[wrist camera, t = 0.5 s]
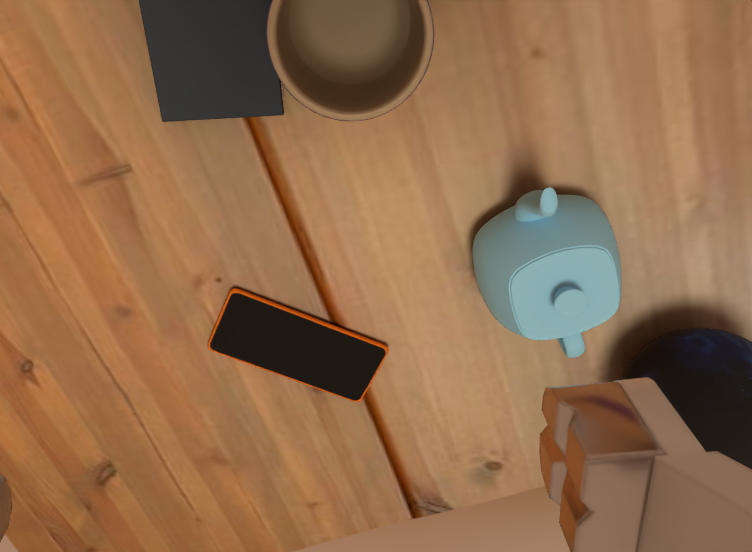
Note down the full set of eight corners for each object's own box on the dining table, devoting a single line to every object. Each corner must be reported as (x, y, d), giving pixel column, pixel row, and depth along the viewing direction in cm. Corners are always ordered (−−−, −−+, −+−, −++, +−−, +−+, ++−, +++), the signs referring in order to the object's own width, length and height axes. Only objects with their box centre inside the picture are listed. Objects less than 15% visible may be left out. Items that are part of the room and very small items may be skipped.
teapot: (633, 164, 47) (661, 361, 55) (584, 127, 57) (614, 299, 64) (464, 216, 48) (515, 401, 56) (444, 172, 58) (490, 335, 66)
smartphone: (232, 284, 62) (231, 288, 61) (390, 344, 66) (390, 349, 65) (206, 346, 65) (204, 351, 64) (358, 400, 69) (359, 405, 68)
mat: (139, -11, 50) (136, -10, 50) (269, -18, 50) (268, -17, 50) (164, 119, 55) (162, 121, 54) (283, 113, 55) (282, 115, 54)
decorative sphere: (747, 287, 65) (852, 377, 51) (735, 407, 71) (825, 514, 58) (594, 313, 65) (658, 408, 52) (597, 429, 72) (654, 540, 58)
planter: (312, 109, 55) (305, 146, 45) (257, -25, 50) (235, -17, 40) (436, 62, 54) (456, 88, 44) (391, -81, 49) (403, -87, 39)
